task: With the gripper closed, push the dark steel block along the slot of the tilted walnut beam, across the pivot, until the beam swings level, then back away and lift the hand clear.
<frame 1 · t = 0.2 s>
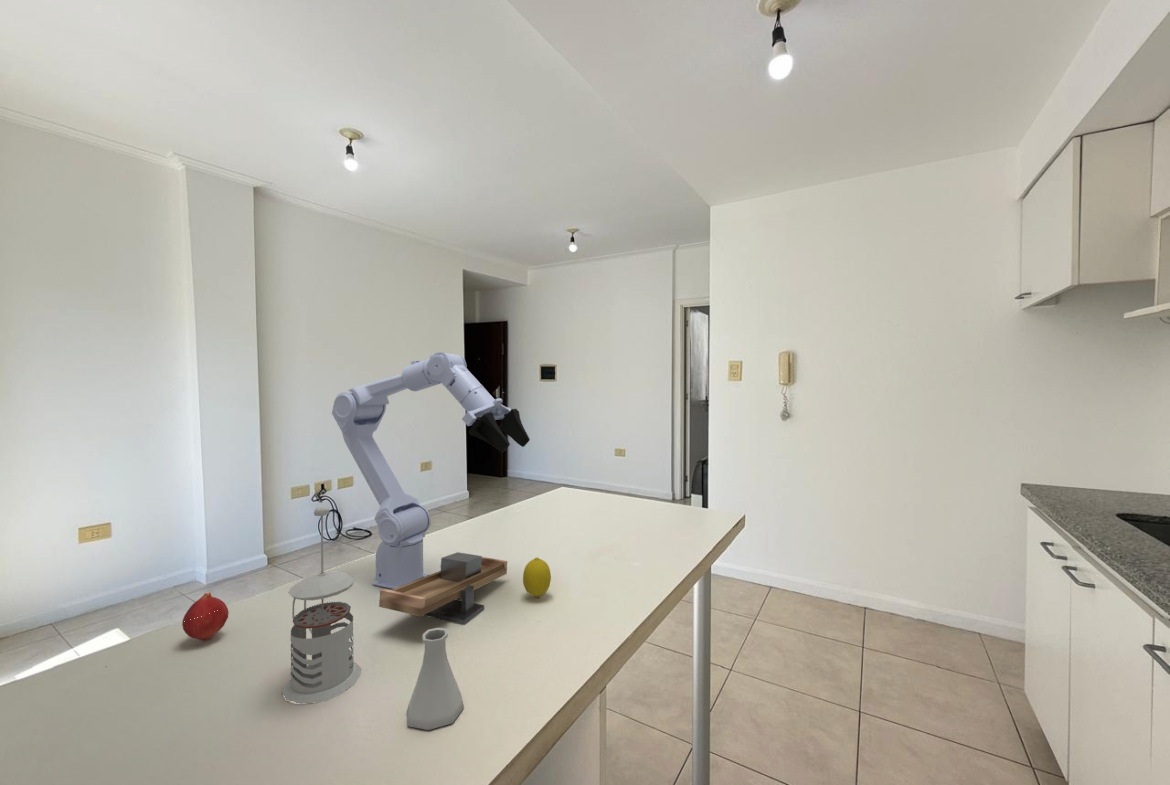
hand: (516, 445, 87), 31 cm above the countertop, tool tilted 45°, fingers open, 7 cm apart
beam: (450, 582, 87), point 4 cm above the countertop, hinge at -6.3°, touching steel block
flask: (435, 712, 58), on the countertop
lemon: (537, 598, 90), on the countertop
red pomegranate: (206, 641, 75), on the countertop
steel block: (460, 577, 90), point 4 cm above the countertop, tilted 6°, touching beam
pivot stand: (443, 609, 85), on the countertop
french press: (319, 680, 65), on the countertop
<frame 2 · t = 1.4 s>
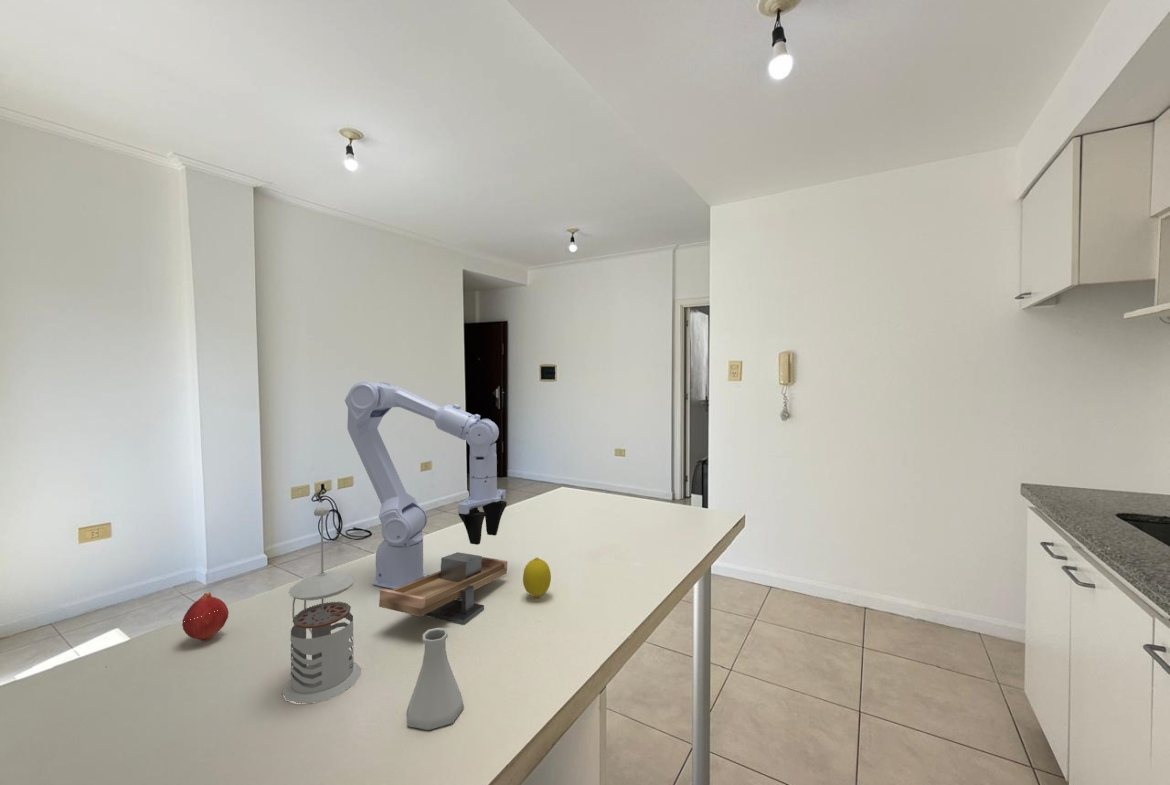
hand: (483, 539, 97), 9 cm above the countertop, tool pointing down, fingers open, 6 cm apart
nothing on the countertop moved.
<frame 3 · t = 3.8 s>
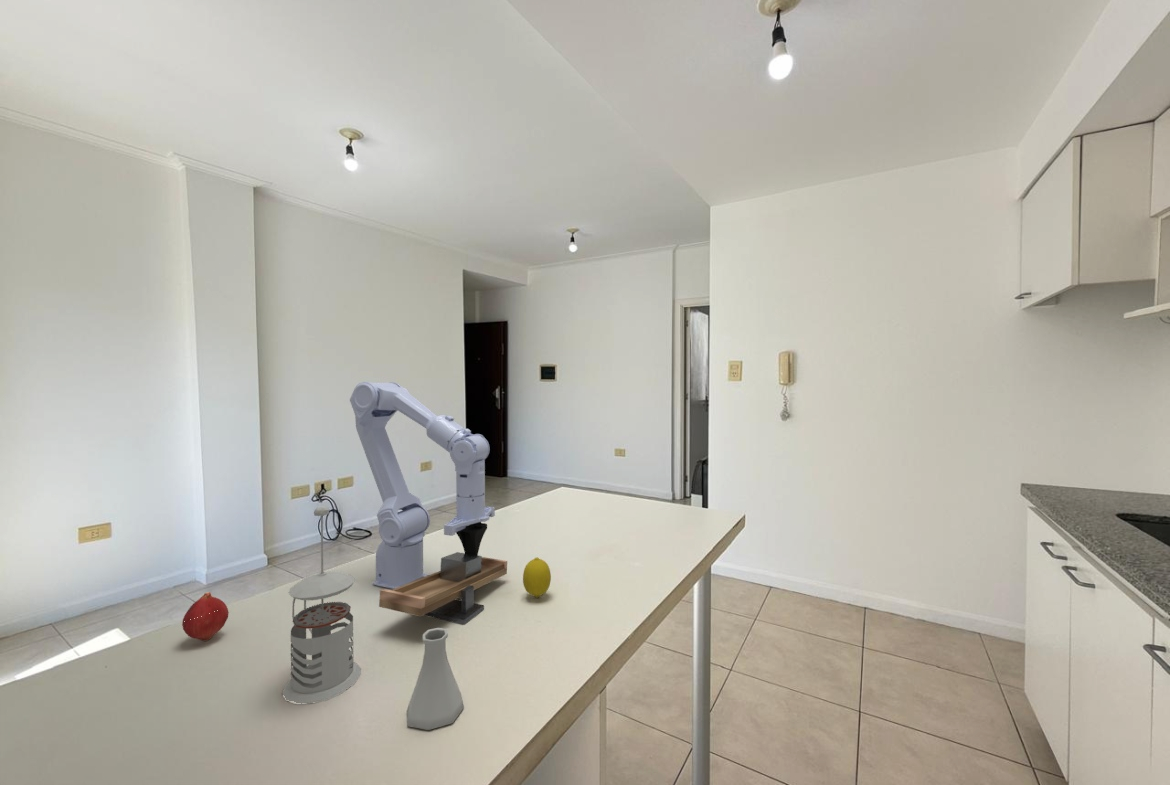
hand: (471, 560, 93), 6 cm above the countertop, tool pointing down, fingers closed
steel block: (460, 577, 90), point 4 cm above the countertop, tilted 6°, touching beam, gripper
everything else where it was.
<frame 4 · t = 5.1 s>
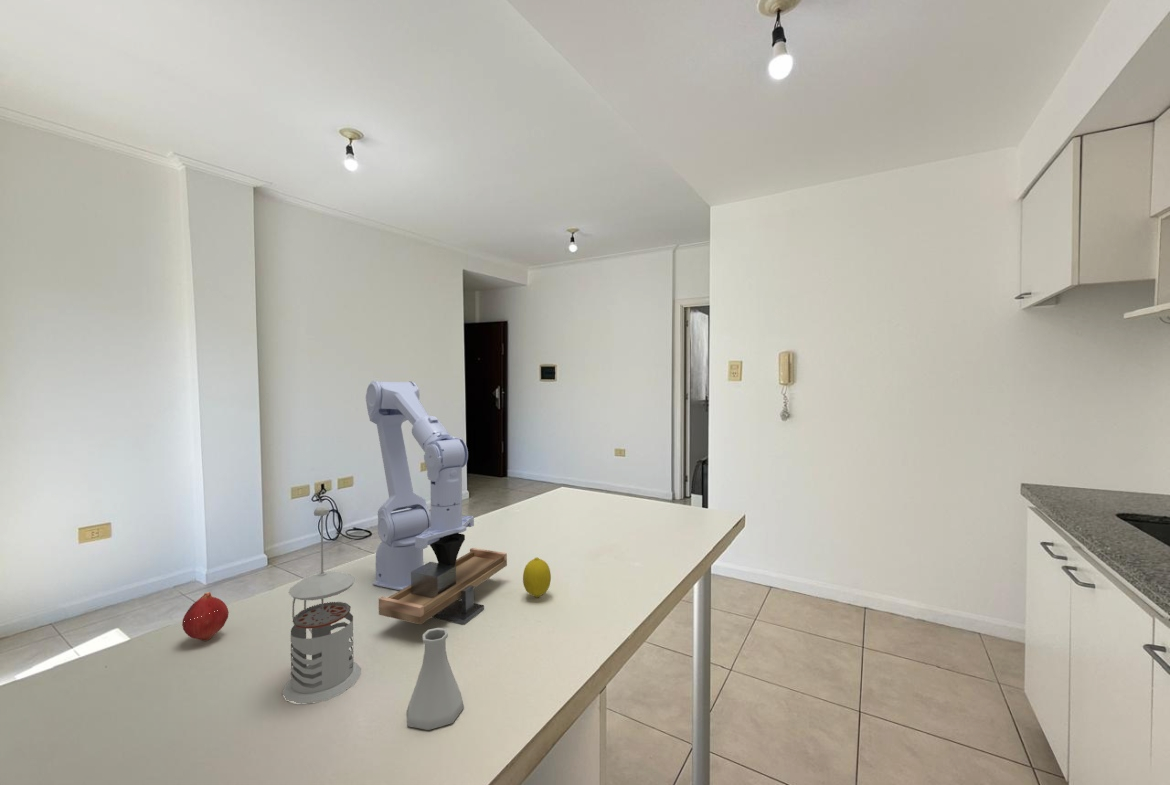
hand: (447, 574, 86), 6 cm above the countertop, tool pointing down, fingers closed
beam: (450, 581, 87), point 5 cm above the countertop, hinge at 0.4°
steel block: (434, 590, 83), point 5 cm above the countertop, touching gripper
everything else where it was.
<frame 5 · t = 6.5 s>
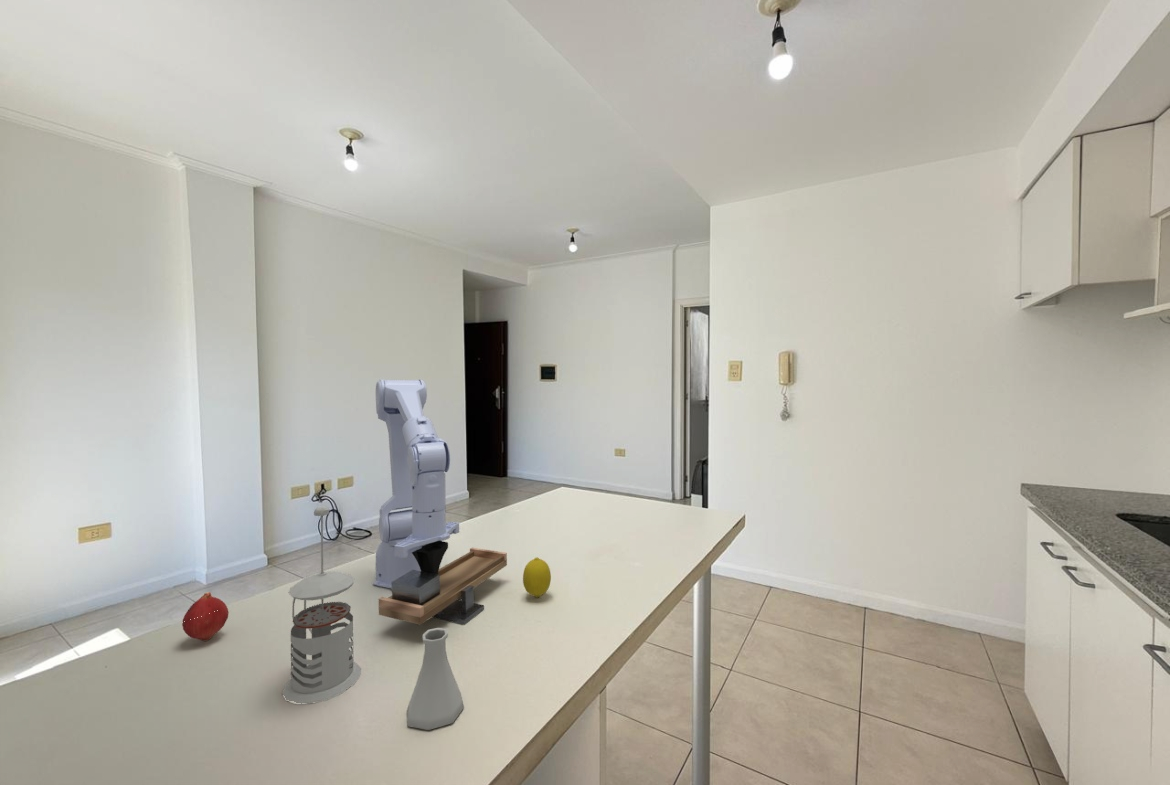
hand: (429, 583, 82), 6 cm above the countertop, tool pointing down, fingers closed
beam: (450, 581, 87), point 5 cm above the countertop, hinge at 0.6°, touching steel block
steel block: (416, 600, 79), point 5 cm above the countertop, touching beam, gripper
everything else where it was.
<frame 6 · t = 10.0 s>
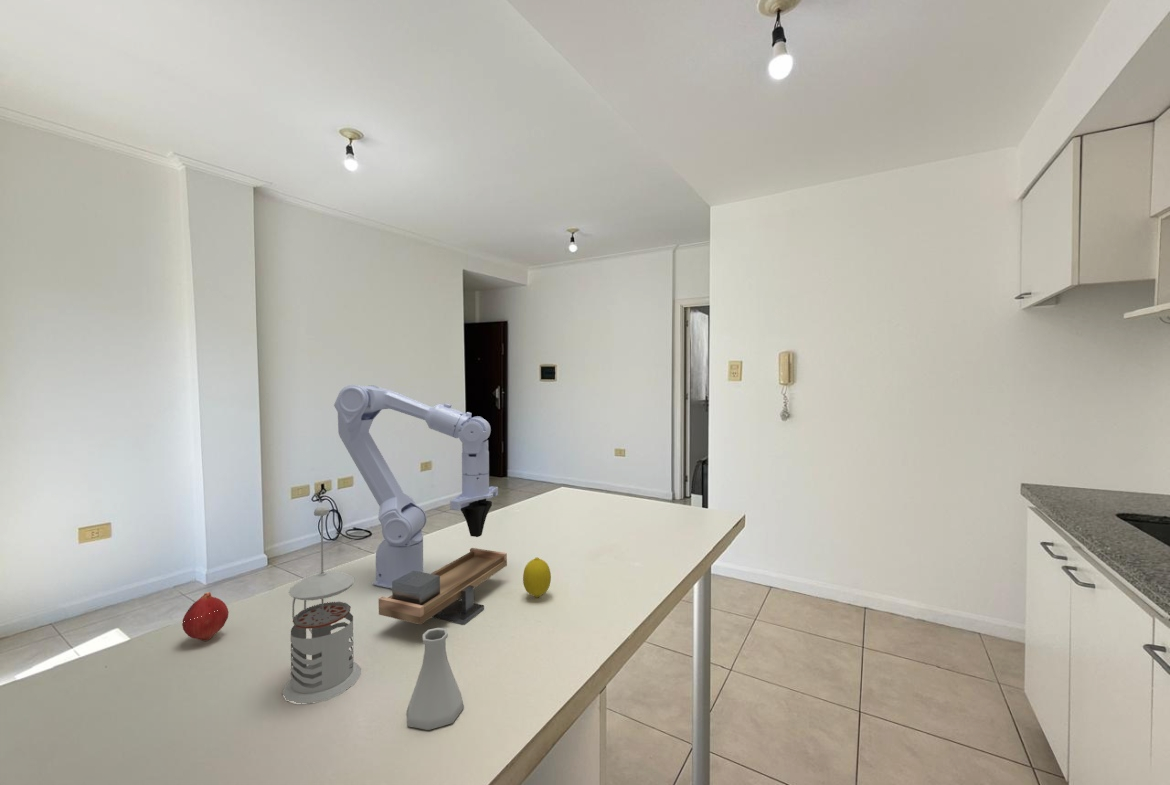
hand: (475, 535, 98), 10 cm above the countertop, tool pointing down, fingers closed
steel block: (416, 601, 79), point 5 cm above the countertop, touching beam
everything else where it was.
at the end: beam at +0° (first picture: -6°); steel block inside the target area on the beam (0.2 cm from its centre), point 1.1 cm above the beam's base; steel block touching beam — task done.
